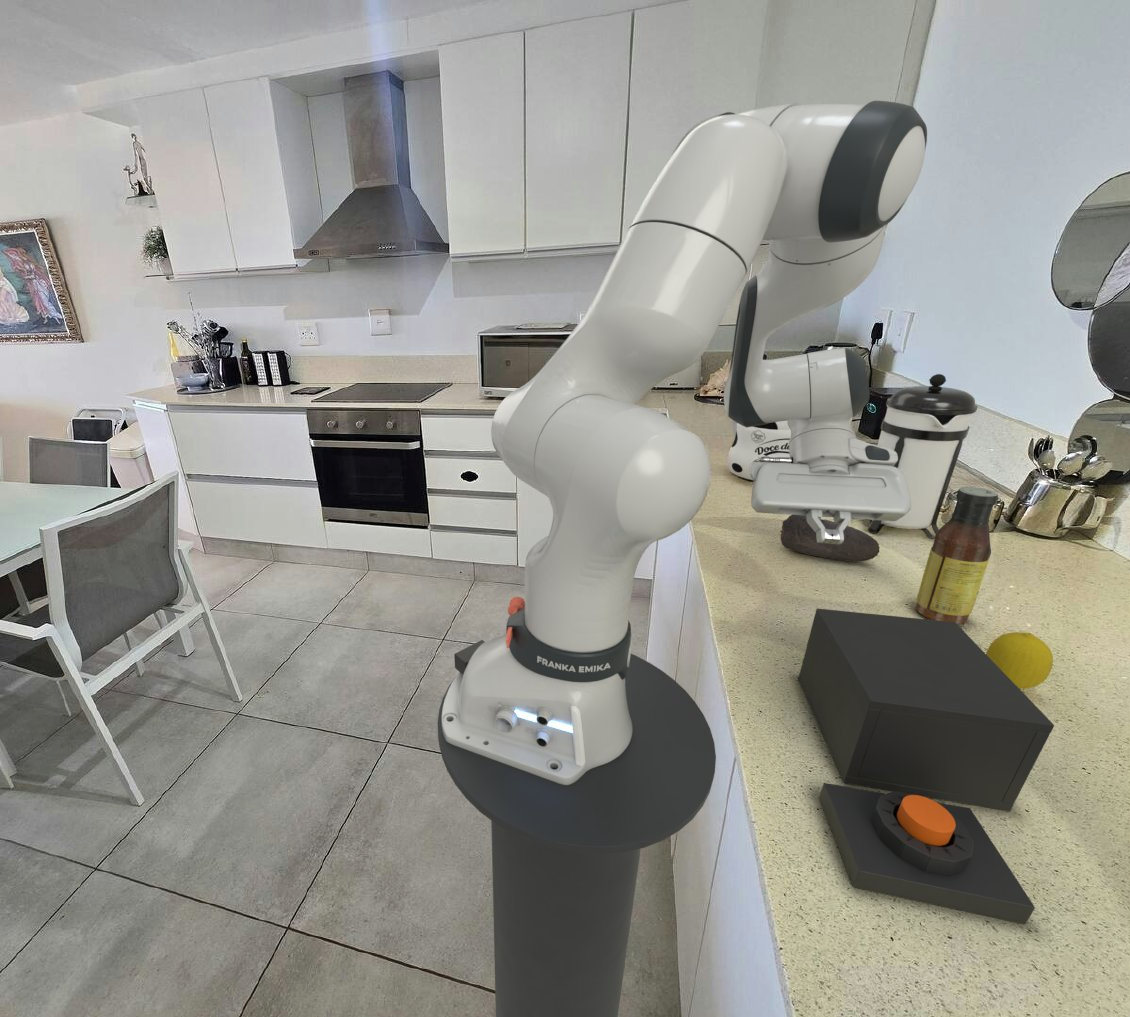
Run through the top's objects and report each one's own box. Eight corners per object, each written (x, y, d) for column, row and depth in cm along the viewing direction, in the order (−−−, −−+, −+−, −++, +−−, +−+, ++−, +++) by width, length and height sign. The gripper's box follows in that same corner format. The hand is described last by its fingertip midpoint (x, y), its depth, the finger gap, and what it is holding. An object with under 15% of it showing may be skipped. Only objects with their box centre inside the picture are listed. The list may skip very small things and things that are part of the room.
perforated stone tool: (875, 560, 97) (885, 525, 94) (874, 573, 93) (885, 536, 90) (779, 541, 105) (786, 508, 102) (775, 551, 101) (782, 518, 99)
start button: (907, 840, 46) (913, 827, 46) (889, 804, 50) (894, 790, 49) (958, 850, 46) (965, 836, 45) (936, 812, 49) (942, 799, 48)
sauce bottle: (978, 623, 79) (1029, 497, 71) (945, 630, 78) (993, 503, 70) (931, 599, 85) (974, 481, 77) (900, 606, 84) (940, 486, 76)
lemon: (970, 667, 71) (991, 616, 68) (1027, 679, 68) (1052, 626, 65) (984, 694, 66) (1007, 641, 63) (1046, 708, 64) (1073, 653, 61)
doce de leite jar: (775, 495, 126) (791, 419, 118) (710, 475, 140) (720, 406, 132) (818, 480, 133) (835, 408, 126) (752, 462, 147) (764, 396, 140)
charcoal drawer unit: (797, 679, 70) (816, 608, 66) (926, 696, 66) (955, 622, 62) (843, 783, 56) (871, 700, 52) (1010, 811, 52) (1055, 725, 48)
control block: (853, 887, 47) (864, 856, 45) (818, 798, 55) (827, 769, 53) (1025, 925, 43) (1044, 893, 42) (962, 823, 51) (976, 794, 50)
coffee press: (964, 531, 105) (1020, 375, 94) (908, 547, 100) (960, 384, 89) (873, 501, 120) (912, 363, 109) (820, 513, 116) (855, 371, 104)
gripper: (755, 446, 84) (758, 529, 80) (910, 452, 79) (923, 541, 74) (744, 464, 90) (746, 543, 85) (888, 471, 85) (899, 555, 80)
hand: (830, 542), depth 80 cm, fingers closed
